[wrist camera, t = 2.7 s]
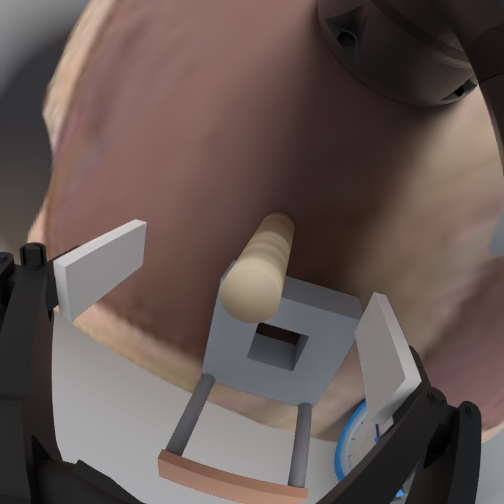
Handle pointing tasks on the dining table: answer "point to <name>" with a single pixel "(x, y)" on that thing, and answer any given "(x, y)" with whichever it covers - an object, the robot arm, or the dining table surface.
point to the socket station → (268, 382)
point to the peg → (259, 271)
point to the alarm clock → (362, 445)
